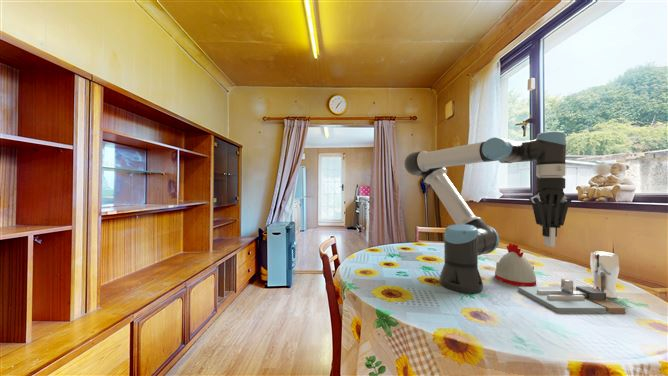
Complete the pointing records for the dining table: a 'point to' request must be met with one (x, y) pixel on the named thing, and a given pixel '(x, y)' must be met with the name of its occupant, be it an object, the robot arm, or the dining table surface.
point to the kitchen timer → (515, 268)
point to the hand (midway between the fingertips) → (549, 246)
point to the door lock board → (572, 300)
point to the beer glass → (605, 272)
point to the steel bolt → (570, 289)
